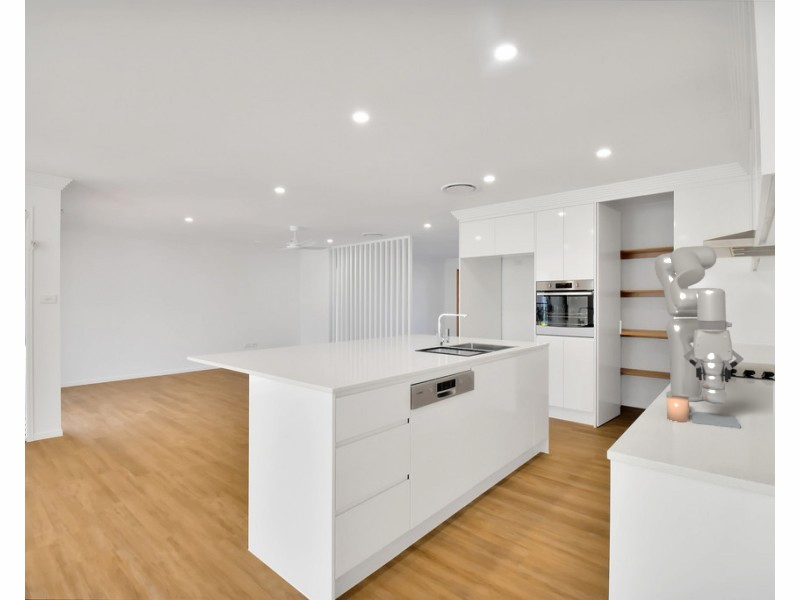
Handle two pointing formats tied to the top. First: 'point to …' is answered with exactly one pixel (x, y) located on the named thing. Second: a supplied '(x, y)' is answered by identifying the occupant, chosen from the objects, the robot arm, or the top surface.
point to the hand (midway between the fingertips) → (713, 380)
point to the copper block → (683, 397)
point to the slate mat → (715, 419)
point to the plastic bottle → (713, 379)
